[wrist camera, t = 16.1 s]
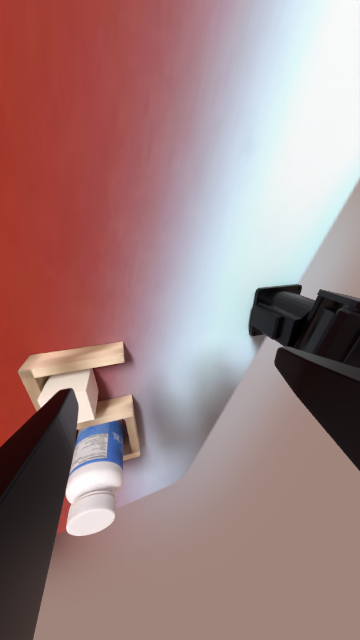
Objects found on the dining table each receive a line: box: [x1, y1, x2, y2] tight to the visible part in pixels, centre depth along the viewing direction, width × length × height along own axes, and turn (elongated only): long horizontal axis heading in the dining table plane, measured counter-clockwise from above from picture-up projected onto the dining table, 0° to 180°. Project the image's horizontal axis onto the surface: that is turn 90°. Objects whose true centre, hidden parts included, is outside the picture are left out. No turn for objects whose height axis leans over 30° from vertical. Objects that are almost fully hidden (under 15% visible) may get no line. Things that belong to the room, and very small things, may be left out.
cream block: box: [37, 368, 99, 423], centre depth 20 cm, size 4×4×4 cm
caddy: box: [18, 342, 140, 461], centre depth 22 cm, size 9×17×2 cm, turn 1°
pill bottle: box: [66, 419, 123, 536], centre depth 21 cm, size 6×5×10 cm
